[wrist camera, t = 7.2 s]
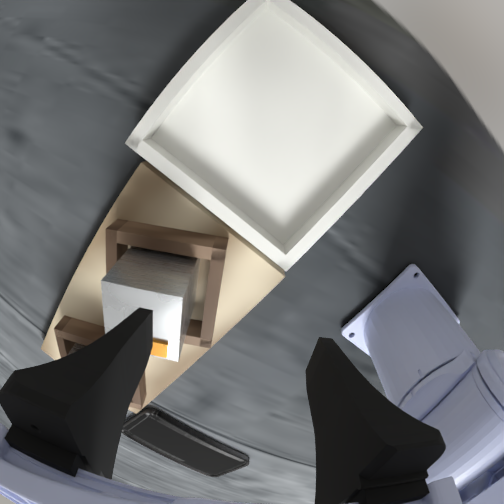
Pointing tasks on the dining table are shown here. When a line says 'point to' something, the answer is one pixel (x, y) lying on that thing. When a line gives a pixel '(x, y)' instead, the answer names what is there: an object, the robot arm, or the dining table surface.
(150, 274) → the loose billet
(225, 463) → the phone
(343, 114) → the white square tray
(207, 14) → the dining table surface
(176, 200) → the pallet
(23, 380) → the robot arm
